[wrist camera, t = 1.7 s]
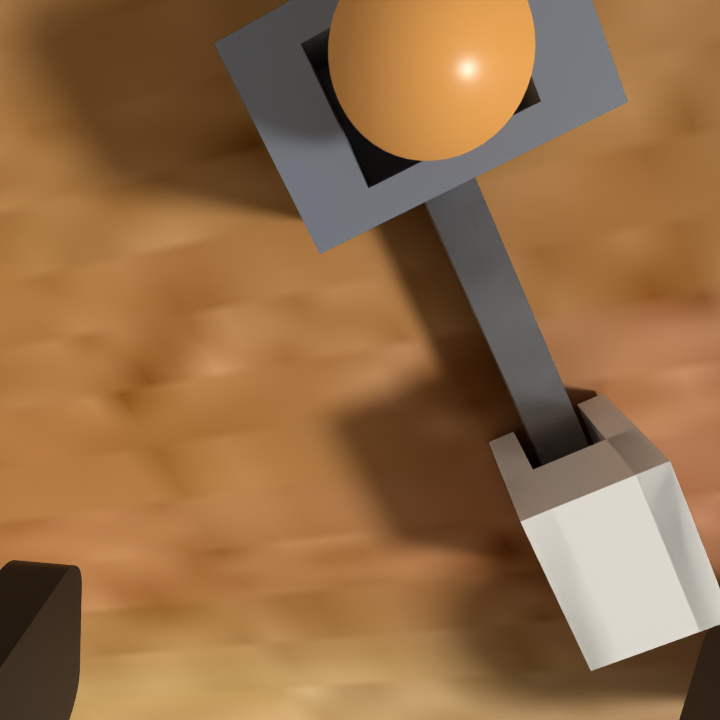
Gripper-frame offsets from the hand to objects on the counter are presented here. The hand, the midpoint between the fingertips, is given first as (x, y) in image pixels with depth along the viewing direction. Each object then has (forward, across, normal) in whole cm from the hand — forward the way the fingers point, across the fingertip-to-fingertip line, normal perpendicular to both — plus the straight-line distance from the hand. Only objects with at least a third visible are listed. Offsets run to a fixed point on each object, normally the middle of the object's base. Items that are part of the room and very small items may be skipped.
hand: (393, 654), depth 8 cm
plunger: (+13, -1, -9) cm, 15 cm away
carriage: (+20, -11, +6) cm, 24 cm away
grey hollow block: (+20, -1, -9) cm, 22 cm away
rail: (+20, -8, +1) cm, 22 cm away
